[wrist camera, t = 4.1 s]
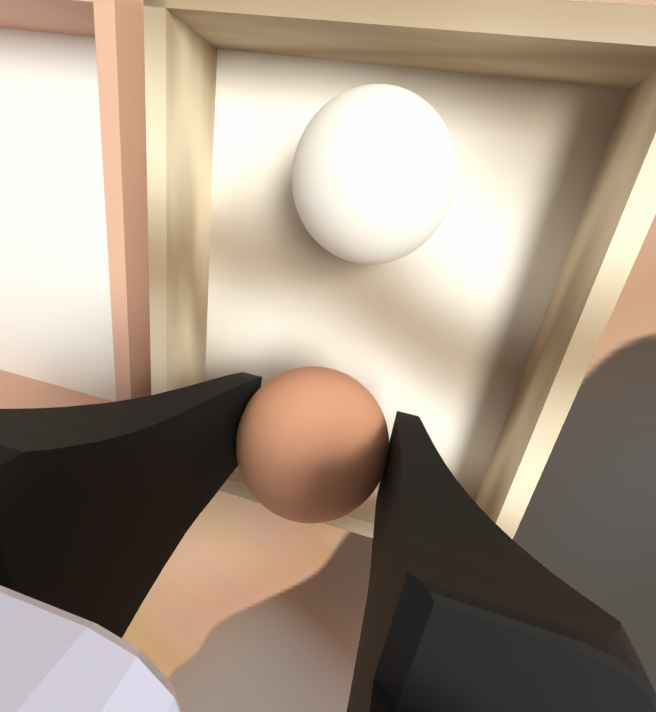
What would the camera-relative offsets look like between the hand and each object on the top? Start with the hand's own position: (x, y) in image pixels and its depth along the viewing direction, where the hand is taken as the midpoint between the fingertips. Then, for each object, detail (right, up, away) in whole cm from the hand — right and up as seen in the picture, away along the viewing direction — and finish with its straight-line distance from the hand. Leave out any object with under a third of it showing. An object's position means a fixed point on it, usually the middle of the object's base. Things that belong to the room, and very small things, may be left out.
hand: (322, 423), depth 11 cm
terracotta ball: (0, 0, -1) cm, 1 cm away
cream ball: (+1, +6, -2) cm, 7 cm away
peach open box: (-11, +7, +4) cm, 14 cm away
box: (+1, +4, +2) cm, 4 cm away
